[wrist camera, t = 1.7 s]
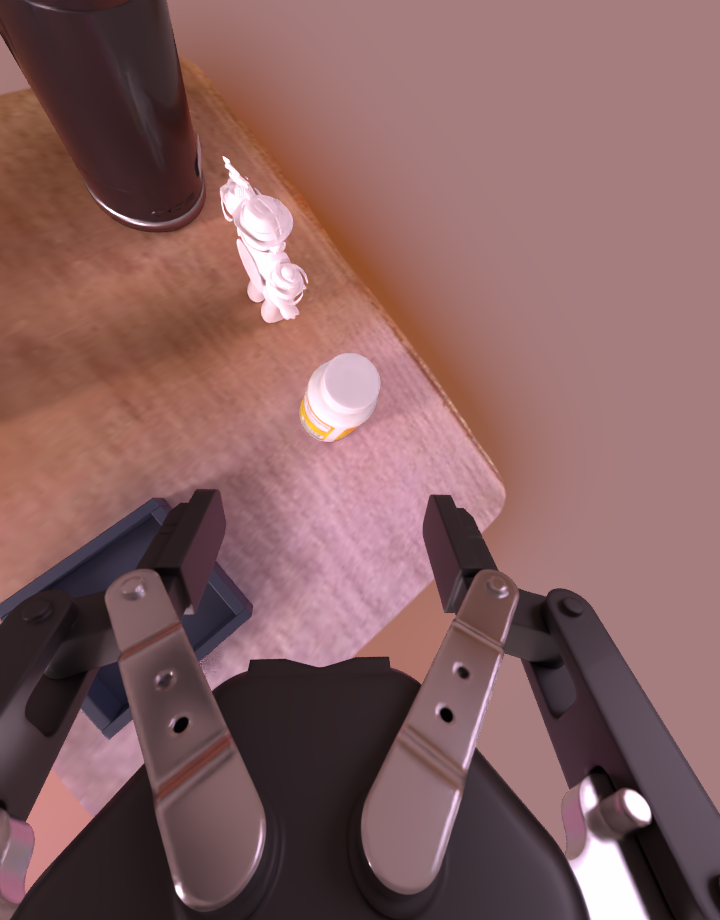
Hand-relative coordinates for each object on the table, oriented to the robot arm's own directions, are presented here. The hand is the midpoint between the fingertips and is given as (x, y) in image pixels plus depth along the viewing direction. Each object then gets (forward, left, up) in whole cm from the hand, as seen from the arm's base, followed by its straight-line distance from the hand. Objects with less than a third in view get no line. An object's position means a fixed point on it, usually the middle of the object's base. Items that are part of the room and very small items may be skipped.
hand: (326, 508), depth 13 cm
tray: (-1, -14, -18) cm, 22 cm away
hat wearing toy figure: (-16, +9, -18) cm, 26 cm away
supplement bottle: (-5, +8, -18) cm, 20 cm away
